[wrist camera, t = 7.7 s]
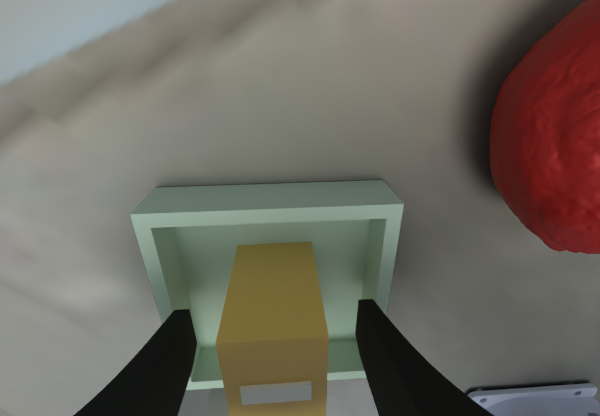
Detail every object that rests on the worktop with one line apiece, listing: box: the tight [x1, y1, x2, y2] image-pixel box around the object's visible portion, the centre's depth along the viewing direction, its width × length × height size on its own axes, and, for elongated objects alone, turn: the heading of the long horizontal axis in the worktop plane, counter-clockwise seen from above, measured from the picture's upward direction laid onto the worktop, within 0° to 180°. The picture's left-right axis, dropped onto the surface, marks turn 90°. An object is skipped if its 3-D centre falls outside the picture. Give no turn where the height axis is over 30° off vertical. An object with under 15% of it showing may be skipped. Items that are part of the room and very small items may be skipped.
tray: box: [130, 180, 404, 390], centre depth 14 cm, size 10×10×3 cm
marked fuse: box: [215, 242, 329, 416], centre depth 13 cm, size 4×5×6 cm
